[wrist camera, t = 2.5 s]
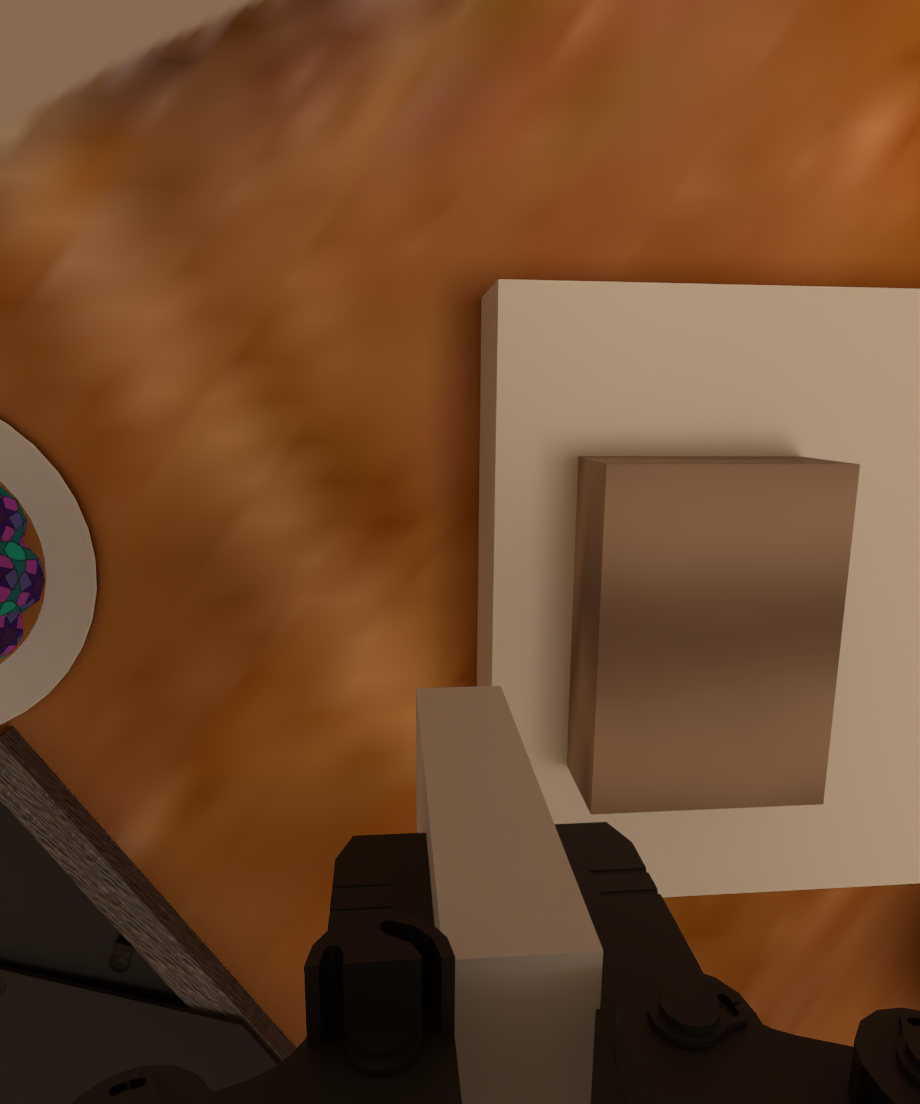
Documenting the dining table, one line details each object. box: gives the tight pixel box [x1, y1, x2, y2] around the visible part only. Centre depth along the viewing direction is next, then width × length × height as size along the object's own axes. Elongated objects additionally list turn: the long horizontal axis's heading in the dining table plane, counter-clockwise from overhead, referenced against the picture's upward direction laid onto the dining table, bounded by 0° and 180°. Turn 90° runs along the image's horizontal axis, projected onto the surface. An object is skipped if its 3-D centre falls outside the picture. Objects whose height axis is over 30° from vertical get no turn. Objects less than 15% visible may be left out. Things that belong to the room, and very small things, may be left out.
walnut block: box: [567, 456, 860, 815], centre depth 23 cm, size 10×7×3 cm
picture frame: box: [0, 726, 297, 1104], centre depth 29 cm, size 13×2×18 cm
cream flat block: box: [477, 279, 920, 897], centre depth 26 cm, size 20×18×4 cm
